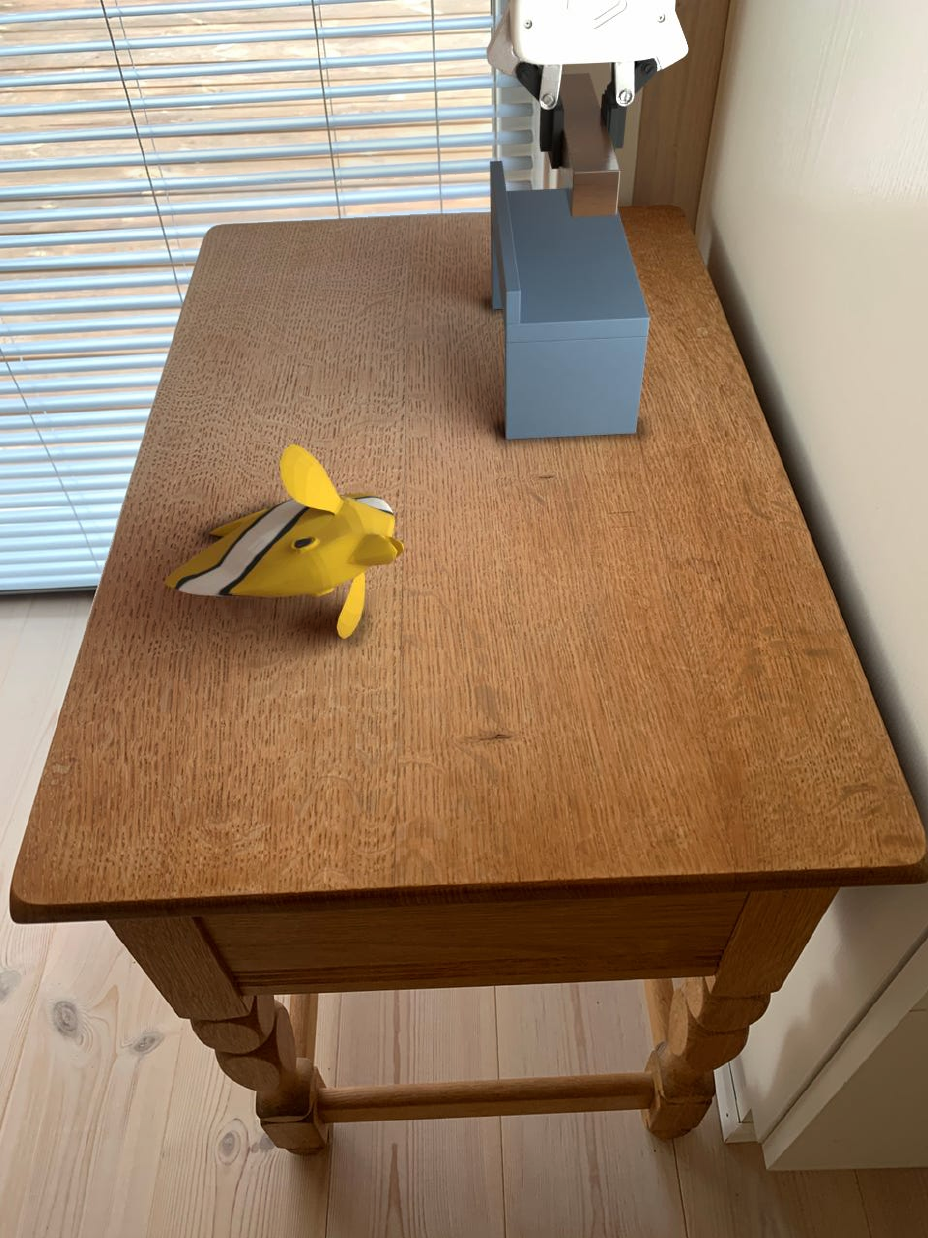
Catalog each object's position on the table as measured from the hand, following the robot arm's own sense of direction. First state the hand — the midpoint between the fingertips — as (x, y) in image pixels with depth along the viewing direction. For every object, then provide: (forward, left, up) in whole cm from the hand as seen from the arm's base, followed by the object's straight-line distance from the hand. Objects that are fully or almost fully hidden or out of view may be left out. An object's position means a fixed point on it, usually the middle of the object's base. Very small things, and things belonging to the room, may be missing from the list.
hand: (580, 156), depth 70 cm
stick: (0, 0, 0) cm, 0 cm away
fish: (+21, +25, -17) cm, 37 cm away
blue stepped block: (+1, 0, -17) cm, 17 cm away
